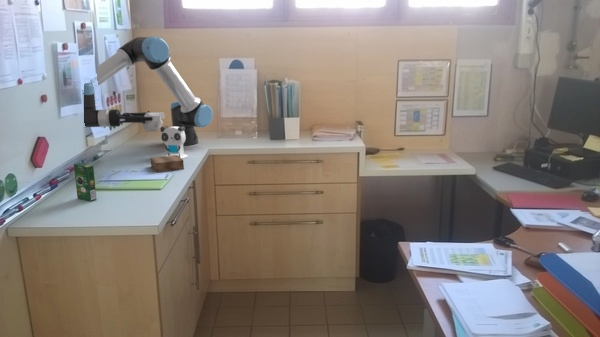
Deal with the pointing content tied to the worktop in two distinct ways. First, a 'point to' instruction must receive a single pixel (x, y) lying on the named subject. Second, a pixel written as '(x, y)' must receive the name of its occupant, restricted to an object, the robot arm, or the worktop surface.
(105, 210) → the worktop surface
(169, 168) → the plinth
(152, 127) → the die
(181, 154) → the panda figurine
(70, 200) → the worktop surface
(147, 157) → the worktop surface
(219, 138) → the worktop surface
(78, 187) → the coffee box
